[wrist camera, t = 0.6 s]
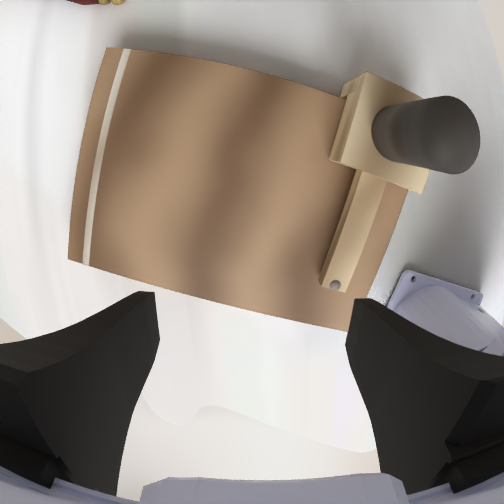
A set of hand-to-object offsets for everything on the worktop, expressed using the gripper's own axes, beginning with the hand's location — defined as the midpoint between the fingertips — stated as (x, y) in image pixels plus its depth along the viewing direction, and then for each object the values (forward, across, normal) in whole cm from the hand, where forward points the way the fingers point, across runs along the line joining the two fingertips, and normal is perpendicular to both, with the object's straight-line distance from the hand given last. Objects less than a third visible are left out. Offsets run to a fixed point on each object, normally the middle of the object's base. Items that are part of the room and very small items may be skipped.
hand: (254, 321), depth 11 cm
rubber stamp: (+10, -6, -4) cm, 12 cm away
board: (+10, +1, -3) cm, 11 cm away
